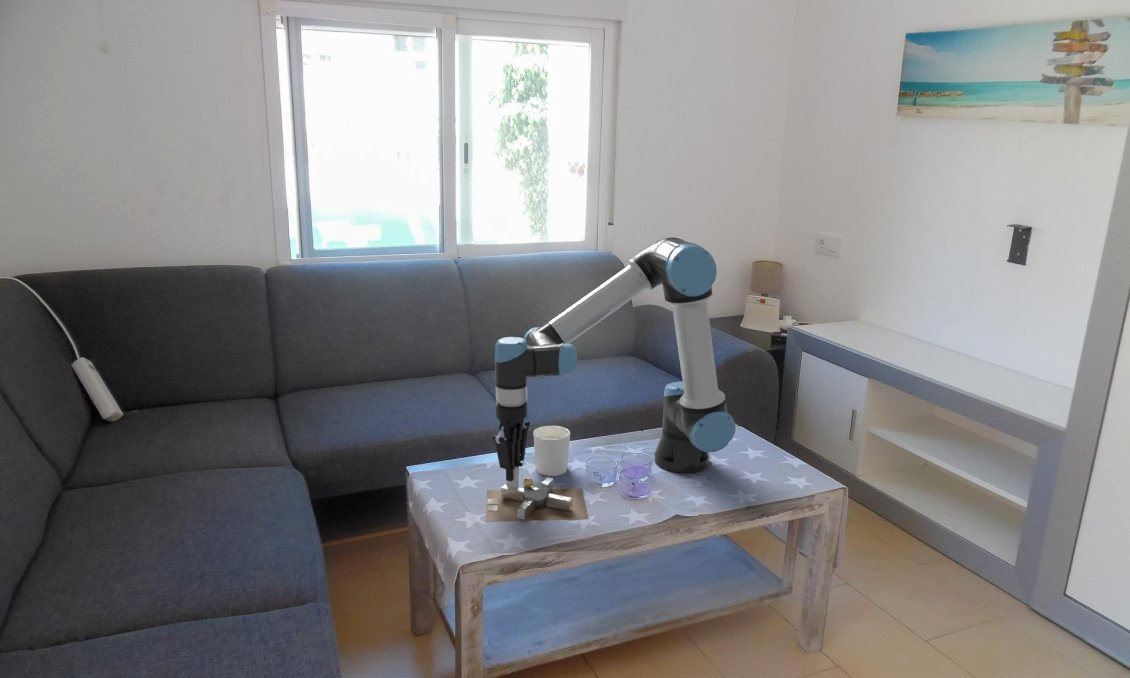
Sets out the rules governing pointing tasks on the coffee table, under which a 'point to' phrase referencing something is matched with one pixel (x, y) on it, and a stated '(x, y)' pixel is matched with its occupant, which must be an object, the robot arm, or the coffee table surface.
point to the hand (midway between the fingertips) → (512, 490)
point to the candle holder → (551, 450)
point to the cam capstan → (535, 496)
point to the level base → (507, 509)
